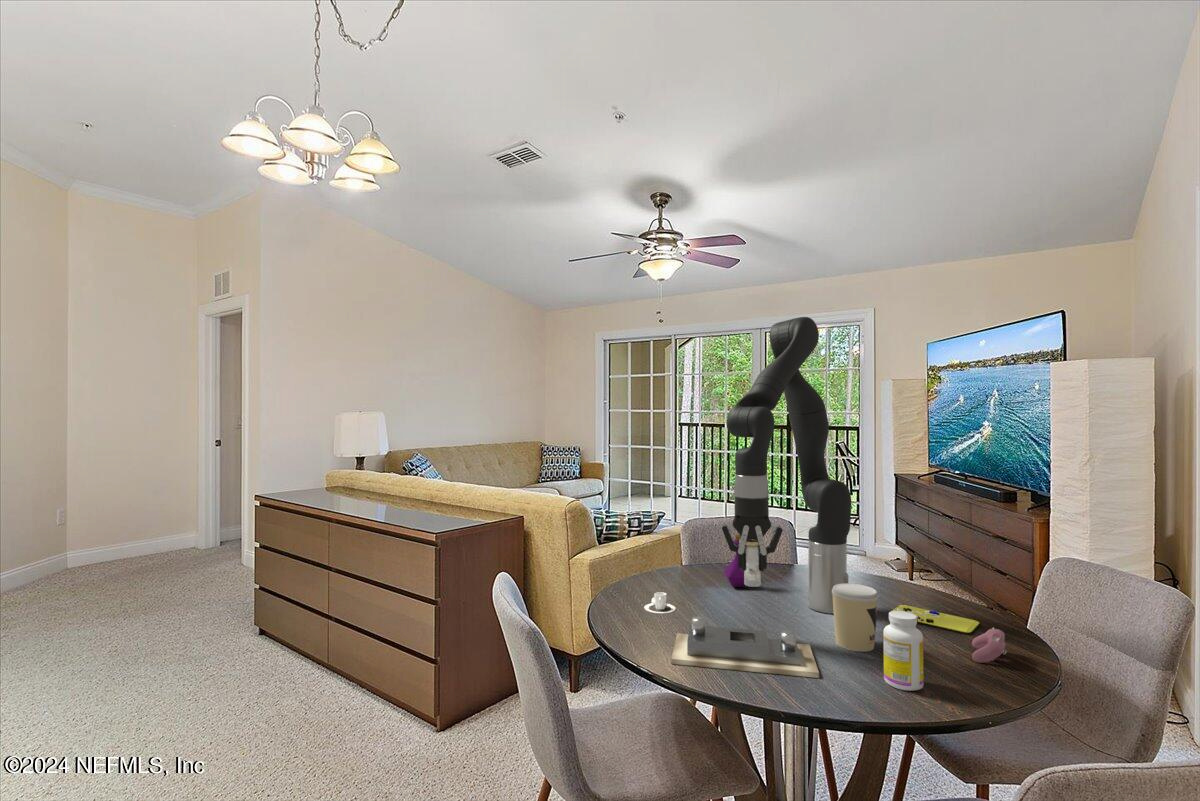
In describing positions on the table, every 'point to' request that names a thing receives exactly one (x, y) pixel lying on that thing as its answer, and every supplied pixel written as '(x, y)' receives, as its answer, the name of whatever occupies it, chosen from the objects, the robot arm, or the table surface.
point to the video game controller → (989, 646)
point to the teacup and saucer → (659, 603)
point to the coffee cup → (855, 616)
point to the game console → (941, 620)
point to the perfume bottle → (735, 570)
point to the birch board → (805, 670)
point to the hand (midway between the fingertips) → (752, 570)
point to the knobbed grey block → (741, 644)
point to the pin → (752, 563)
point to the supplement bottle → (903, 652)
